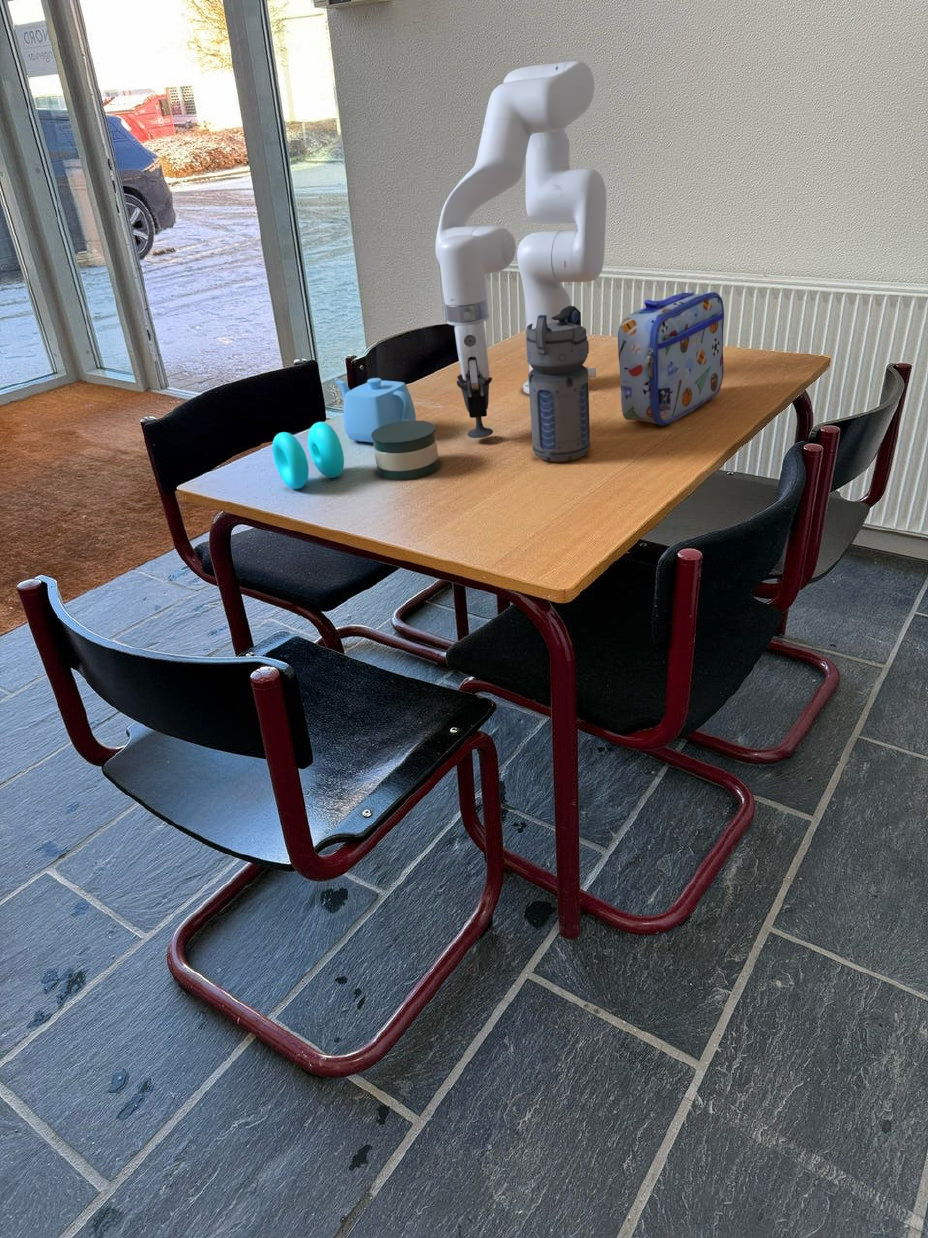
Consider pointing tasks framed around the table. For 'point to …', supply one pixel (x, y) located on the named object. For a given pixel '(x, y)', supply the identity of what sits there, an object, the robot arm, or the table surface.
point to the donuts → (321, 449)
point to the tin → (405, 449)
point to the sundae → (479, 429)
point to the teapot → (374, 407)
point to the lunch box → (671, 357)
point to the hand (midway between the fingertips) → (477, 410)
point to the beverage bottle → (559, 387)
